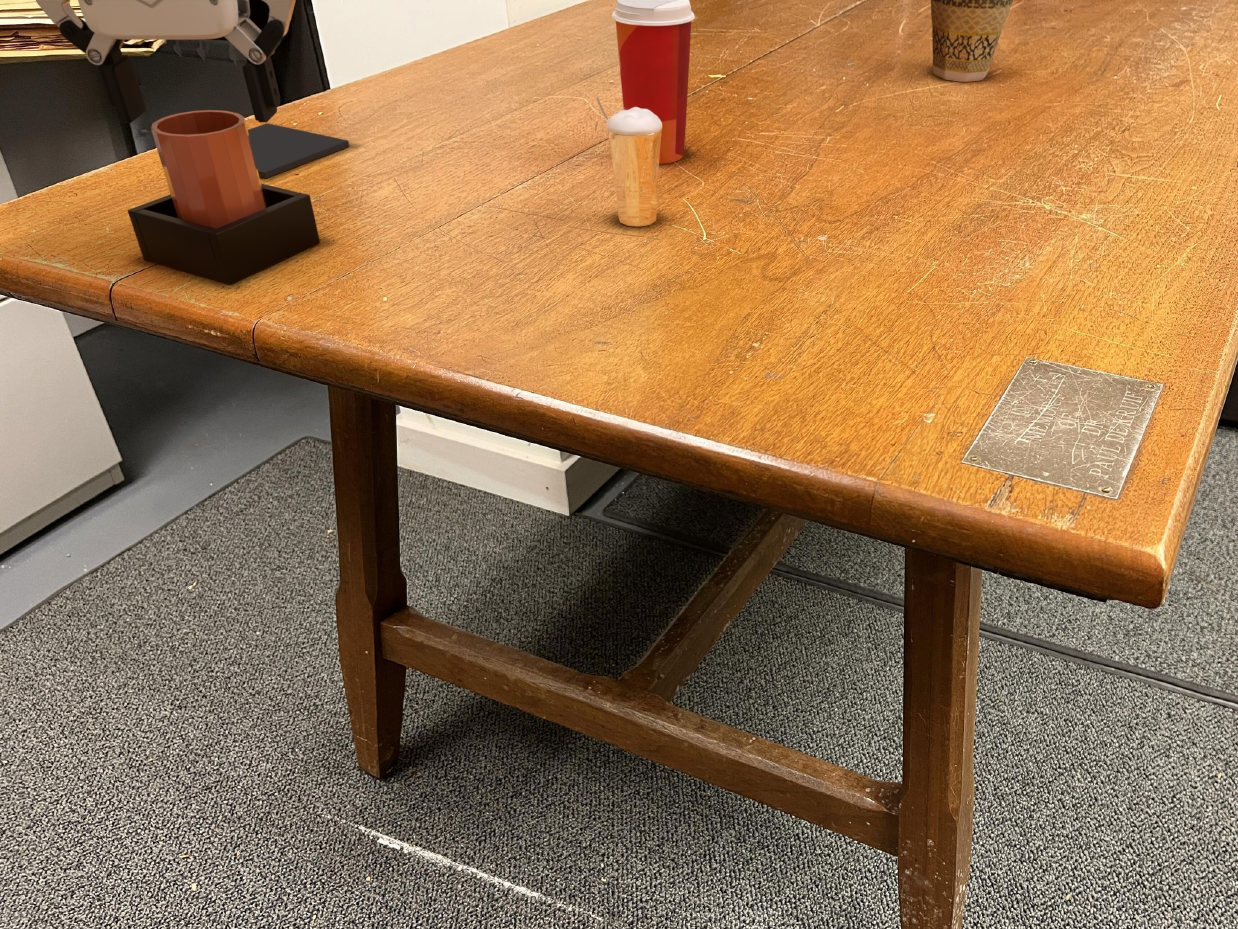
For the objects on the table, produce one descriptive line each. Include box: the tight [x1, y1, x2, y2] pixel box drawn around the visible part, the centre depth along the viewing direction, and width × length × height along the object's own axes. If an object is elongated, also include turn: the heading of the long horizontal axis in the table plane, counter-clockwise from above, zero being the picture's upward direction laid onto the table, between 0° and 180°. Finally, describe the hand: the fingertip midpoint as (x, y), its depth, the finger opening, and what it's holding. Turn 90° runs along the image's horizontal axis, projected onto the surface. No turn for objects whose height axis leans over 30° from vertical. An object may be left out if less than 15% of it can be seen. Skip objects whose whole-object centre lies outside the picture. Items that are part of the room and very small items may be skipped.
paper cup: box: [611, 0, 696, 165], centre depth 101 cm, size 8×8×14 cm
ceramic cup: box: [930, 0, 1014, 83], centre depth 131 cm, size 13×10×10 cm
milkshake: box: [595, 96, 662, 228], centre depth 89 cm, size 5×5×10 cm
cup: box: [150, 109, 267, 229], centre depth 82 cm, size 6×6×10 cm
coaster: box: [248, 122, 350, 179], centre depth 104 cm, size 11×11×1 cm
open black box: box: [127, 182, 321, 286], centre depth 84 cm, size 9×9×4 cm
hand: (201, 117), depth 78 cm, fingers open, 9 cm apart
